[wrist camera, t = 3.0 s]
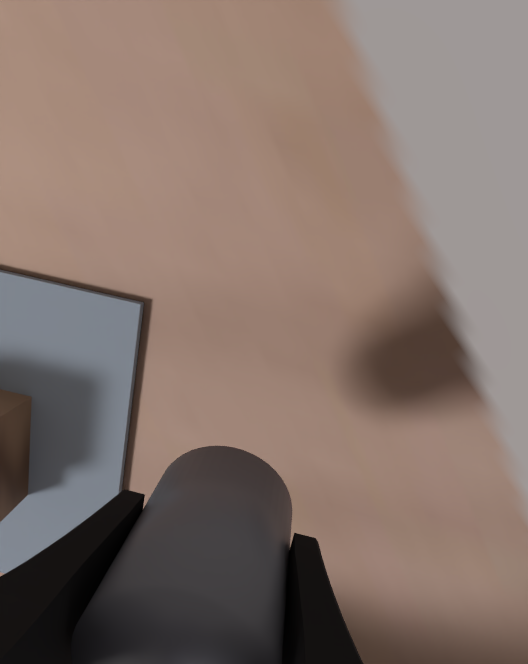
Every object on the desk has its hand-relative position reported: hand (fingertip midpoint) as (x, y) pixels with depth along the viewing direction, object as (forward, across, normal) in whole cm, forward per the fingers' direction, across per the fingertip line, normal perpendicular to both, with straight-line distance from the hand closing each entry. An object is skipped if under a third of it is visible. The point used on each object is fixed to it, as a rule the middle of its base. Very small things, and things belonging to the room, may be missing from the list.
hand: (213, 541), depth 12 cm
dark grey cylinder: (+2, 0, 0) cm, 2 cm away
